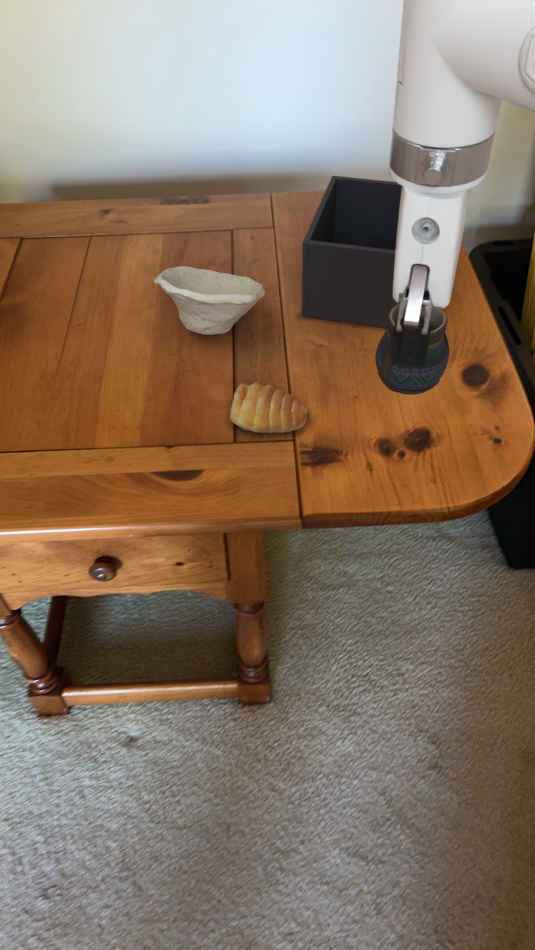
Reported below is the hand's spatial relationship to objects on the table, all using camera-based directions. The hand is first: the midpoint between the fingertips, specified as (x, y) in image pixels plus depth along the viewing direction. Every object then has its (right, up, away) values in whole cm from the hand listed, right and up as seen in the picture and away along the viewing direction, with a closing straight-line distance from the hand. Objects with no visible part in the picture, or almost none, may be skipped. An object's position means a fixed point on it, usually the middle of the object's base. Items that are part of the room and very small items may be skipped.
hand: (413, 338), depth 64 cm
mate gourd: (0, -4, +4) cm, 5 cm away
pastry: (-14, -6, +19) cm, 25 cm away
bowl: (-22, +8, +31) cm, 39 cm away
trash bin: (+1, +15, +35) cm, 38 cm away
